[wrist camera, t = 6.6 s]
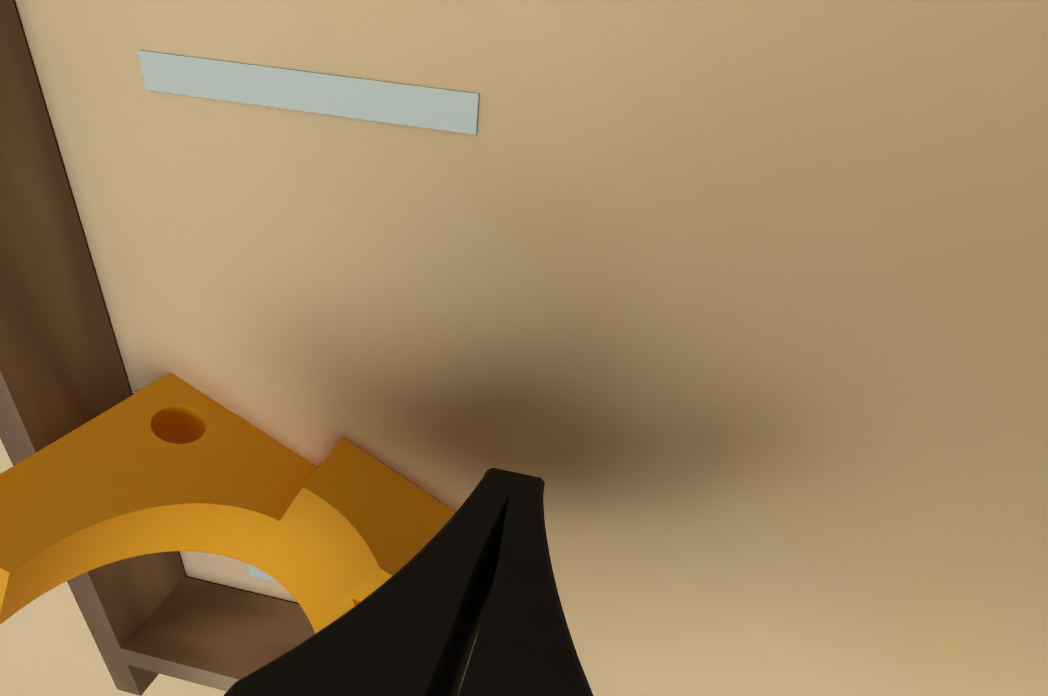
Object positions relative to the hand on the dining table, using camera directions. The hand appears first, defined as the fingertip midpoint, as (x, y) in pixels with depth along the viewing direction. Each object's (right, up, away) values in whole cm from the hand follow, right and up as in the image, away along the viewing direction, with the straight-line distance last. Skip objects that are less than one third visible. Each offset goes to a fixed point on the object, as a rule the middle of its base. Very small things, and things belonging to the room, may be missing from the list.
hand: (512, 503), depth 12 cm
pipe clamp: (-6, -1, +5) cm, 8 cm away
